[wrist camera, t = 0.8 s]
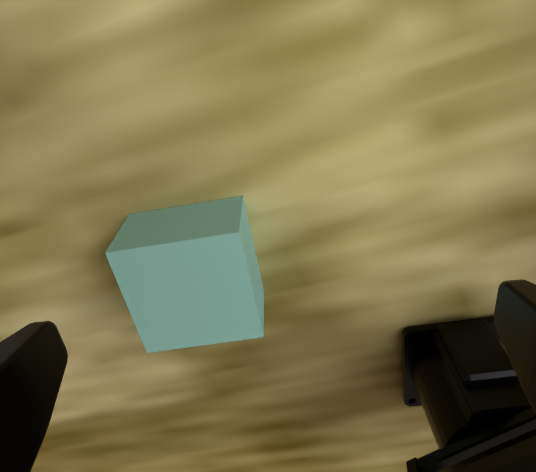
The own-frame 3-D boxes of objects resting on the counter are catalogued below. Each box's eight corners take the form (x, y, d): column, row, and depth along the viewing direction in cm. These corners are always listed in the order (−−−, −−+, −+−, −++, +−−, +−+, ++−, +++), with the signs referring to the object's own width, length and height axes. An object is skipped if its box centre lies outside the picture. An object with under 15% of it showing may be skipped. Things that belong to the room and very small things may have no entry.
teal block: (263, 289, 25) (263, 337, 21) (163, 303, 25) (146, 353, 22) (243, 194, 22) (239, 232, 19) (129, 212, 23) (104, 252, 19)
